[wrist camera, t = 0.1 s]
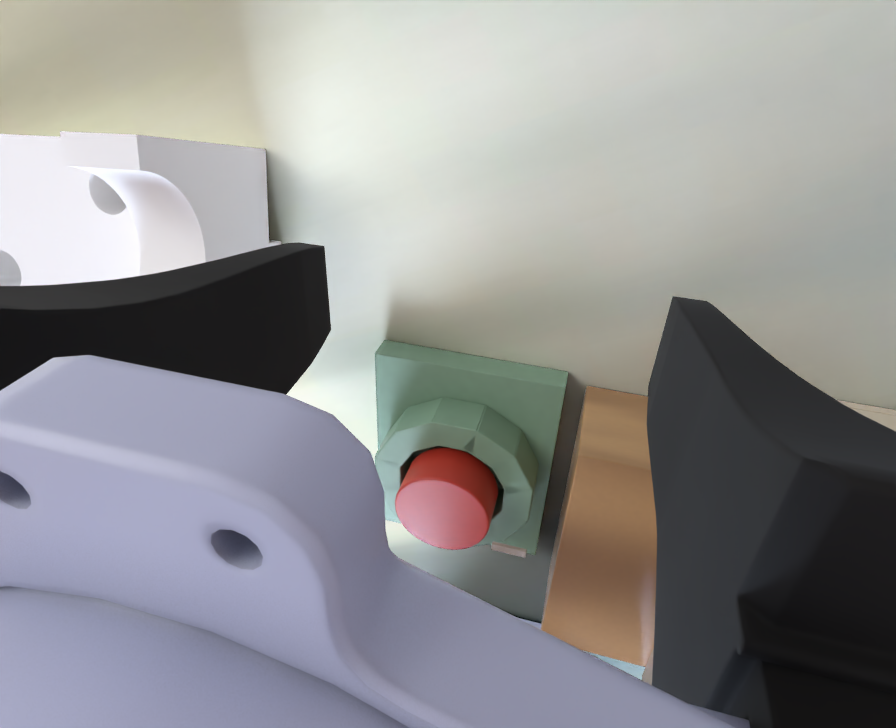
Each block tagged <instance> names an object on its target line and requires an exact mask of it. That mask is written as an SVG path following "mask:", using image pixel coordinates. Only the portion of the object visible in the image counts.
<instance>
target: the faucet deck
mask: <svg viewBox="0 0 896 728" xmlns="http://www.w3.org/2000/svg"><path fill="white" fill-rule="evenodd" d="M647 404H648V396H642V395H637V394H631V393H625V392H620V391H614V390H608V389H603V388H597V387H592V386H587V387H586V390H585V395H584V400H583V405H582V410H581V415H580V420H579V425H578V429H577V434H576V439H575V444H574V449H573V454H572V459H571V464H570V468H569V473H568V478H567V483H566V488H565V493H564V498H563V503H562V507H561V512H560V517H559V522H558V527H557V532H556V537H555V542H554V547H553V551H552V556H551V561H550V568H549V575H548V582H547V589H546V596H545V602H544V609H543V616H542V623H541V630H543V631H545V632H547V633H549V634H551V635H553V636H555V637H556V638H558V639H560V640H562V641H564V642H566V643H568V644H570V645H572V646H574V647H576V648H578V649H580V650H583V651H587V652H591V653H594V654H598V655H602V656H606V657H609V658H613V659H617V660H621V661H624V662H628V663H632V664H636V665H639V666H643V667H646V665H647V662H648V660H649V657H650V655H651V652H652V650H653V647H654V630H655V601H656V562H657V527H656V511H655V502H654V493H653V483H652V474H651V465H650V455H649V445H648V435H647ZM491 550H494V551H499V552H503V553H507V554H511V555H515V556H519V557H524V558H525V556H526V551H527V549H523V548H519V547H515V546H511V545H507V544H502V543H498V542H494V541H493V542H492V548H491Z"/></svg>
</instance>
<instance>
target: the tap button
mask: <svg viewBox="0 0 896 728" xmlns="http://www.w3.org/2000/svg"><path fill="white" fill-rule="evenodd" d="M497 497H498V486H497V482H496V479H495V477H494V475H493V474H492V472H491V471H490V469H489V468H488V467H487V466H486V465H485V464H484V463H483V462H482V461H480V460H479V459H478V458H476V457H474V456H473V455H471V454H469V453H467V452H464V451H461V450H457V449H452V448H434V449H430V450H427V451H425V452H423V453H421V454H419V455H418V456H417V457H416V458H415V459H414V460H413V461H412V463H411V465H410V467H409V469H408V471H407V473H406V476H405V478H404V480H403V482H402V484H401V486H400V488H399V490H398V492H397V494H396V498H395V509H396V513H397V516H398V518H399V520H400V521H401V523H402V524H403V526H404V527H405V528H406V529H407V530H408V531H409V532H410V533H411V534H412V535H414V536H415V537H416V538H418V539H420V540H421V541H423V542H425V543H427V544H430V545H432V546H435V547H438V548H443V549H451V550H458V549H465V548H469V547H472V546H474V545H476V544H478V543H479V542H480V541H481V540H482V539H483V538H484V537H485V536H486V534H487V532H488V530H489V527H490V523H491V519H492V515H493V512H494V508H495V504H496V501H497Z"/></svg>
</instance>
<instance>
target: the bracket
mask: <svg viewBox="0 0 896 728" xmlns="http://www.w3.org/2000/svg"><path fill="white" fill-rule="evenodd" d="M60 136H61V137H56V136H35V135H14V134H0V286H33V285H57V284H69V283H81V282H93V281H105V280H114V279H122V278H128V277H135V276H142V275H148V274H154V273H160V272H165V271H170V270H174V269H179V268H183V267H187V266H192V265H196V264H201V263H205V262H209V261H214V260H218V259H222V258H226V257H230V256H234V255H237V254H241V253H245V252H249V251H253V250H257V249H261V248H266V247H270V246H275V245H281V241H273V240H269V226H268V199H267V172H266V149H260V148H251V147H242V146H233V145H224V144H215V143H206V142H197V141H188V140H179V139H170V138H162V137H153V136H144V135H132V134H110V133H88V132H66V131H60Z"/></svg>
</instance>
